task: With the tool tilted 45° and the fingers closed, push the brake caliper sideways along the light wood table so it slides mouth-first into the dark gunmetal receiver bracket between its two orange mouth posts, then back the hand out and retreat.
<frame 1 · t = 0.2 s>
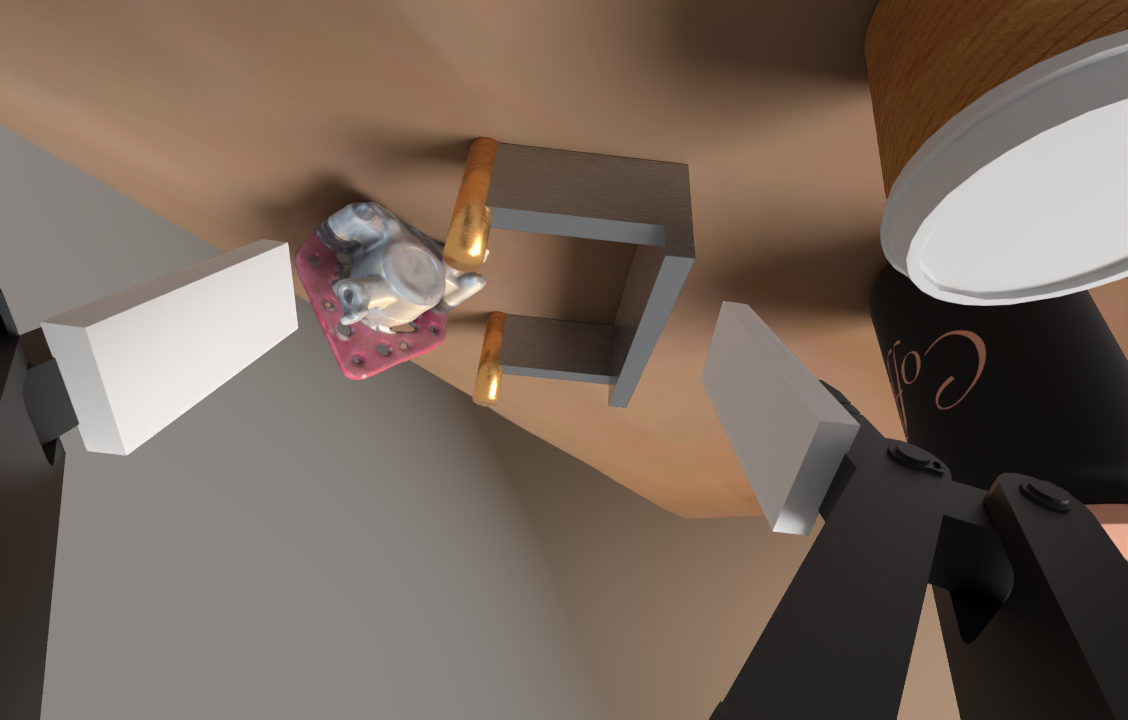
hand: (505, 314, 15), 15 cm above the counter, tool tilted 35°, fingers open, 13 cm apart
brake caliper: (400, 239, 35), on the counter
receiver bracket: (562, 260, 36), on the counter
disposable coffee cup: (948, 10, 21), on the counter
coffee jar: (952, 271, 34), on the counter
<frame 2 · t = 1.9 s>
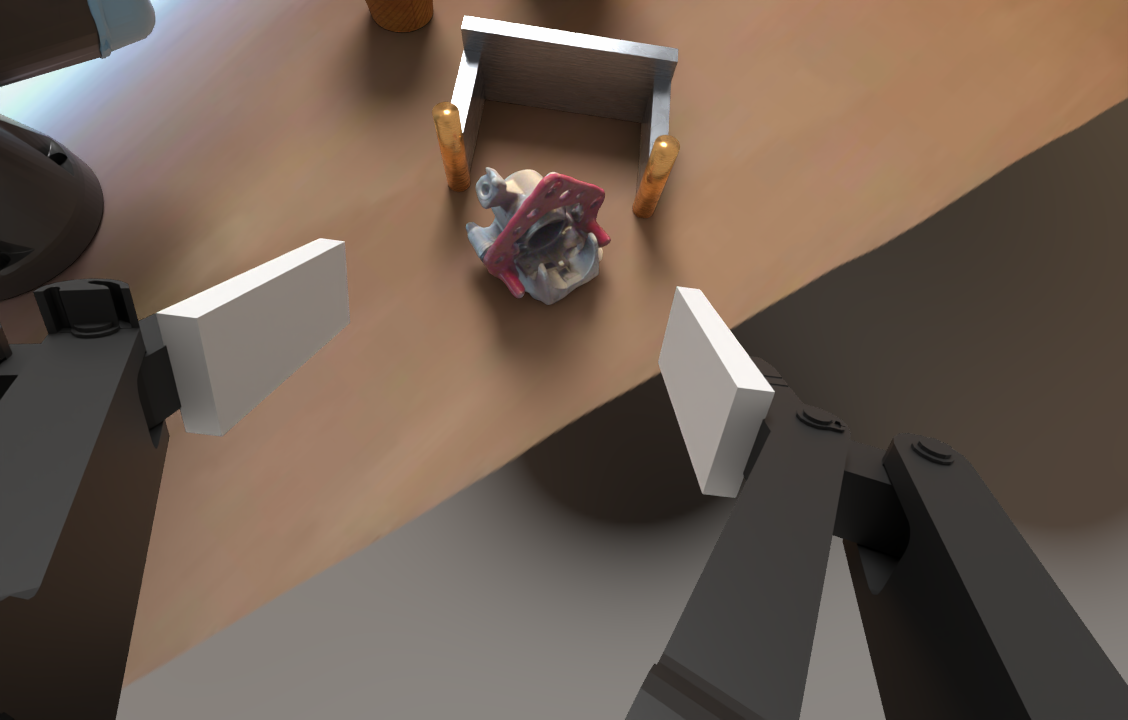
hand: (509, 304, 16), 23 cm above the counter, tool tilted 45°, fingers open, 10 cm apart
brake caliper: (540, 257, 43), on the counter
receiver bracket: (558, 151, 46), on the counter
disposable coffee cup: (402, 12, 51), on the counter
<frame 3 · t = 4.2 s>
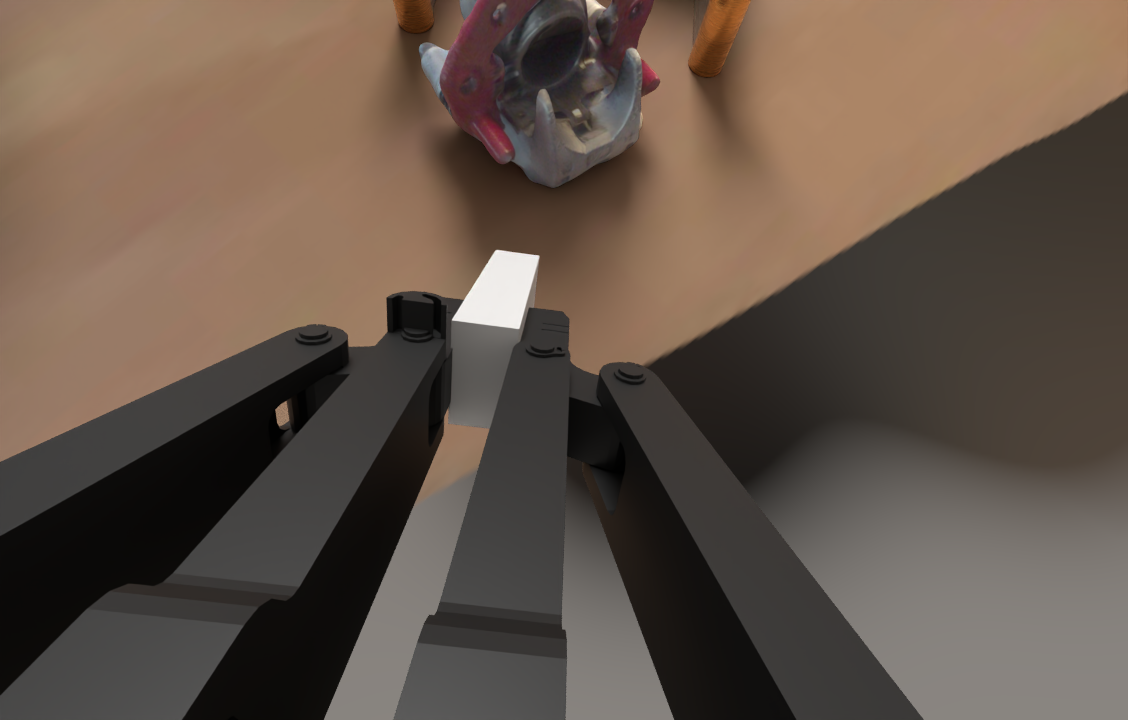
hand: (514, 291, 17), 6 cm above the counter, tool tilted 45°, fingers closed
brake caliper: (543, 122, 27), on the counter
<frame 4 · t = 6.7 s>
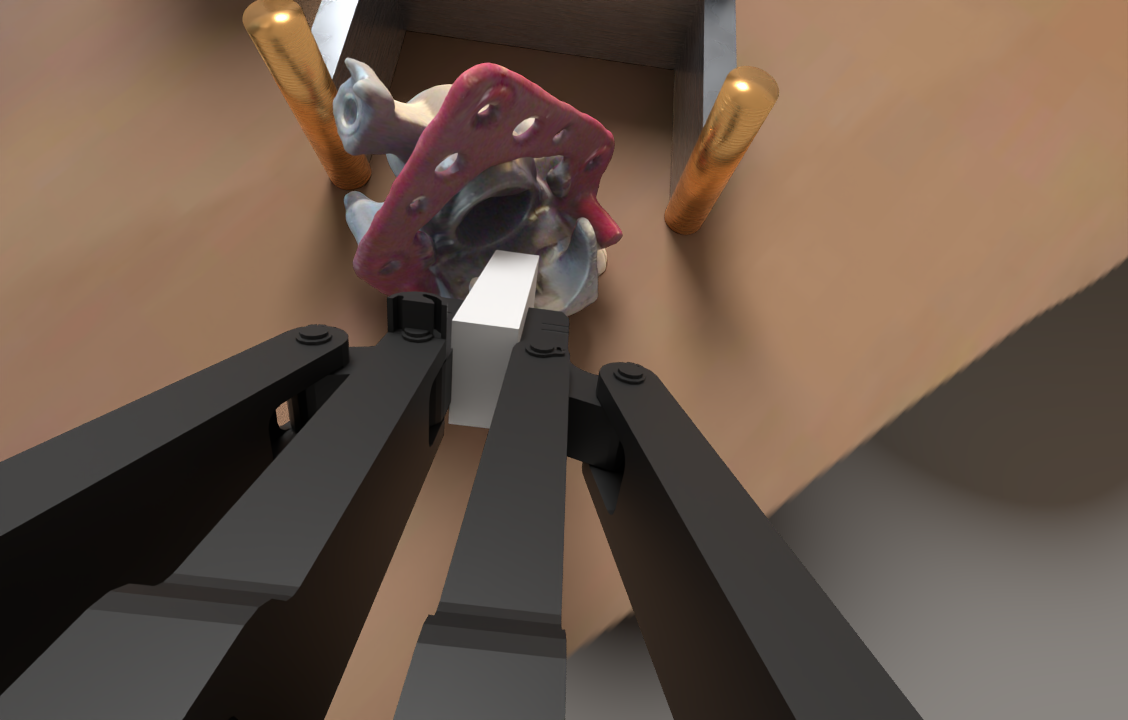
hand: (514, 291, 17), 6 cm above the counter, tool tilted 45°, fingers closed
brake caliper: (494, 263, 24), on the counter, touching gripper
receiver bracket: (531, 118, 26), on the counter
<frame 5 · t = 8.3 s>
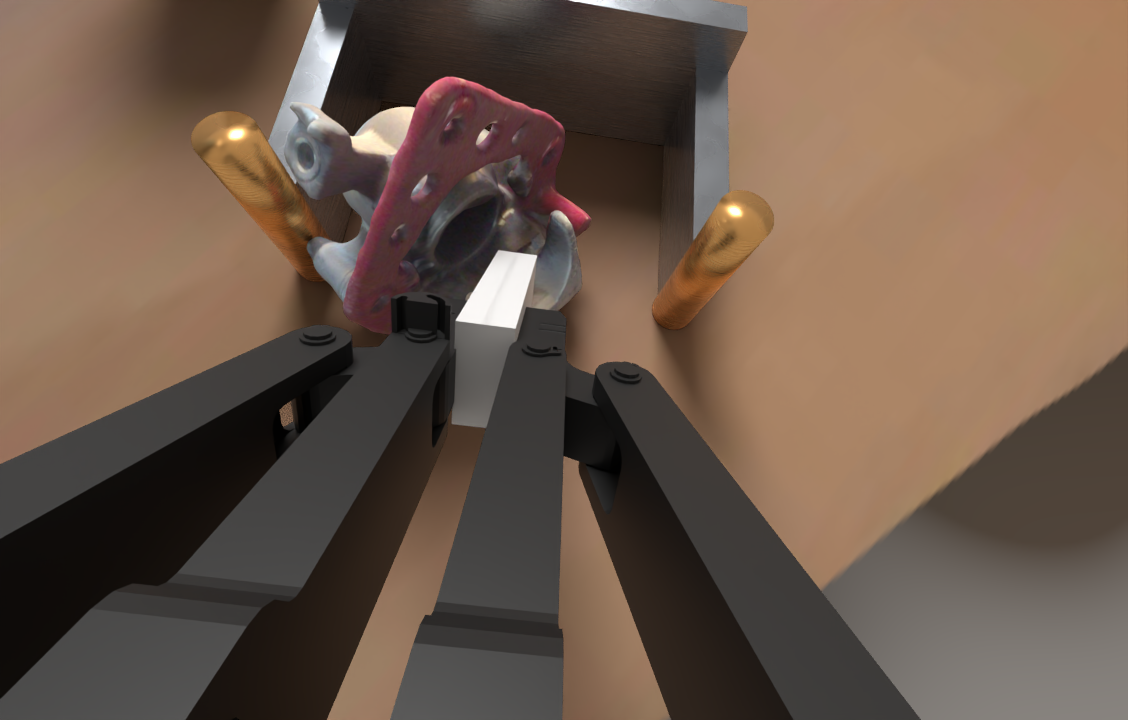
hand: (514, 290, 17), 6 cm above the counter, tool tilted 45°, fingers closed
brake caliper: (469, 277, 24), on the counter, touching gripper, receiver bracket
receiver bracket: (513, 200, 25), on the counter
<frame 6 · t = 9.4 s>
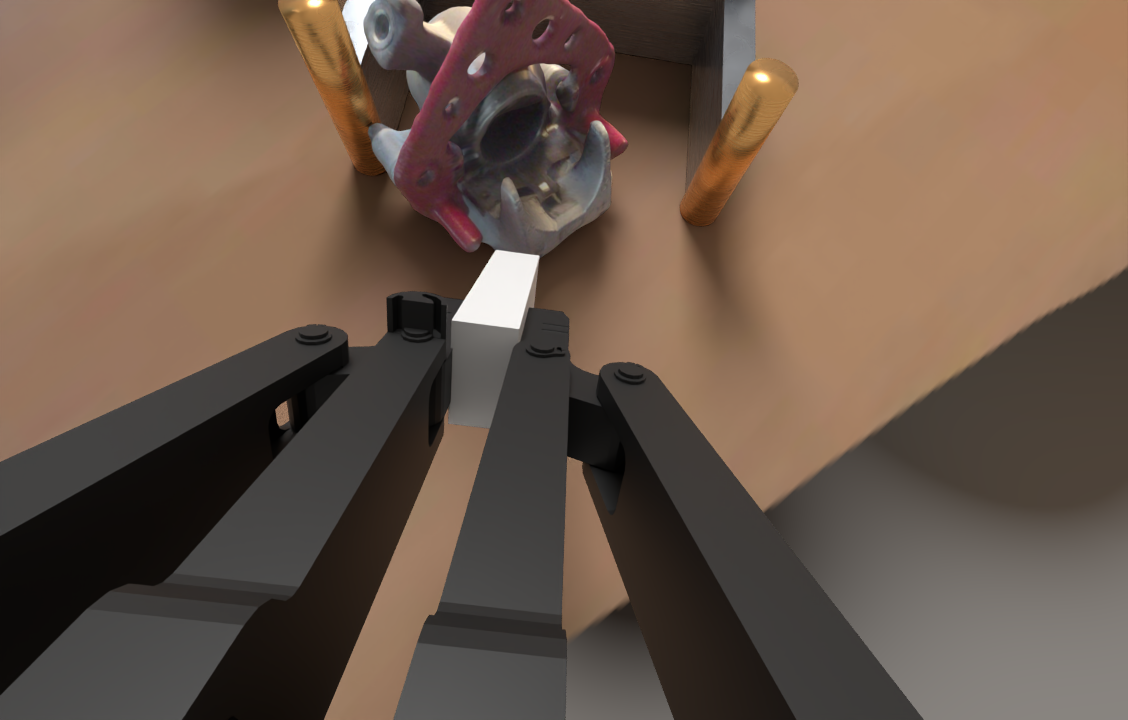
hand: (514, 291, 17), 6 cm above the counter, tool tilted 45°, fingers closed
brake caliper: (508, 189, 25), on the counter
receiver bracket: (550, 109, 27), on the counter
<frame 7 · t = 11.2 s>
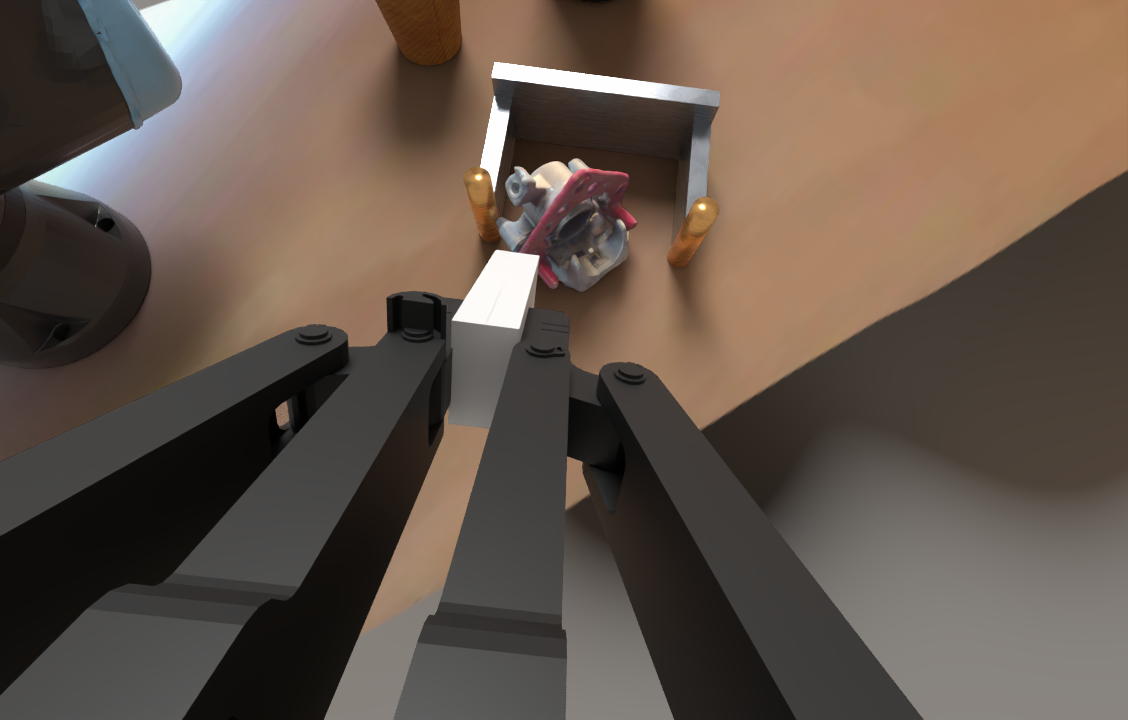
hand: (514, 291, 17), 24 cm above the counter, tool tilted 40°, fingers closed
brake caliper: (569, 244, 44), on the counter
receiver bracket: (591, 195, 45), on the counter
disposable coffee cup: (430, 42, 49), on the counter
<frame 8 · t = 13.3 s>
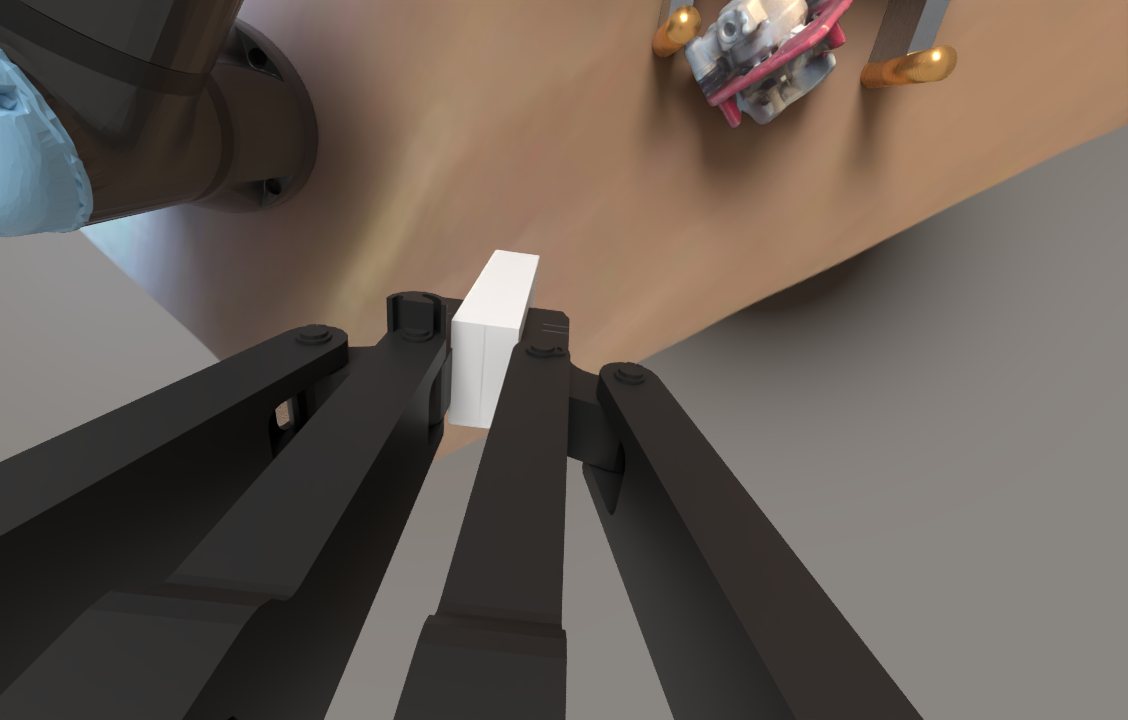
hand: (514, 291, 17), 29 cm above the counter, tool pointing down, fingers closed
brake caliper: (753, 51, 39), on the counter, touching receiver bracket
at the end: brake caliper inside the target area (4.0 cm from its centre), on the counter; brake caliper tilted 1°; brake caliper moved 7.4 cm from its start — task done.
